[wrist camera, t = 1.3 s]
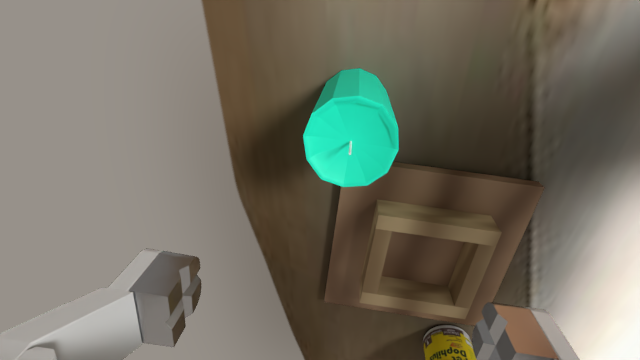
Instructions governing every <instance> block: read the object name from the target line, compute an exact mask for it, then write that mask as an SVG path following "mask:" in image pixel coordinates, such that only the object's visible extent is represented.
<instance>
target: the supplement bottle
mask: <svg viewBox="0 0 640 360" xmlns="http://www.w3.org/2000/svg"><path fill="white" fill-rule="evenodd" d="M423 348H424V353H425V359H426V360H477V359H476V357H475V354H474V351H473V346H472V343H471V340H470V338H469V336H468V334H467V333H466V332H465V331H464V330H462V329H461V328H459V327H456V326H453V325H440V326H436V327H434V328H432V329H430V330H429V331H428V332H427V333H426V334H425V336H424V338H423Z"/></svg>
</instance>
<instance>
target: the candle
mask: <svg viewBox="0 0 640 360" xmlns="http://www.w3.org/2000/svg"><path fill="white" fill-rule="evenodd" d="M303 139H304V146H305V153H306V160H307V161H308V162H309V164H310V165H311V166H312V168H313V169H314V170H315V172H316V173H317V175H318V176H319V177H320V179H322V180H325V181H327V182H330V183H333V184H336V185H339V186H341V187H354V186H367V185H369V184H371V183H372V182H374V181H375V180H377V179H378V178H380V177H381V176H383V175H385V174H386V173H388V171H389V169H390V167H391V165H392V162H393V160H394V158H395V156H396V154H397V152H398V150H399V138H398V125H397V122H396V119H395V116H394V113H393V110H392V106H391V103H390V100H389V97H388V94H387V91H386V89H385V88H384V86H383V85H382V84H381V82H380V81H379V79H378V78H377V76H376V75H374V74H371V73H369V72H367V71H365V70H362V69H360V68H357V69H349V70H341V71H340V72H339V73H337V74H336V75H335V76H333V77H332V78H331V79H330V80H328V81H327V82H326V84H325V87H324V89H323V91H322V93H321V95H320V97H319V99H318V101H317V104H316V106H315V108H314V110H313V112H312V114H311V117H310V119H309V122H308V124H307V127H306V129H305V132H304V134H303Z"/></svg>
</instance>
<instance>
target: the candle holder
mask: <svg viewBox="0 0 640 360" xmlns="http://www.w3.org/2000/svg"><path fill="white" fill-rule="evenodd" d="M544 188H545V187H544V186H543V185H542V184H540V183H539V182H537V181H530V180H523V179H516V178H508V177H501V176H494V175H486V174H479V173H472V172H465V171H457V170H450V169H443V168H436V167H428V166H421V165H414V164H406V163H399V162H392V165H391V167H390V169H389V171H388V173H386V174H385V175H383V176H381V177H380V178H378V179H377V180H375V181H374V182H372V183H371V184H369V185H367V186H354V187H341V190H340V196H339V203H338V210H337V216H336V223H335V230H334V236H333V243H332V250H331V256H330V263H329V270H328V276H327V283H326V290H325V297H324V302H327V303H333V304H340V305H346V306H352V307H359V308H365V309H371V310H378V311H384V312H390V313H397V314H403V315H409V316H416V317H422V318H428V319H435V320H441V321H447V322H454V323H460V324H466V325H473V326H475V325H476V323H477V322H479V321H481V320H482V319H484V317H483V315H482V312H481V311H482V309H483V307H484V305H485V304H486V303H488V302H493V300H494V298H495V295H496V293H497V291H498V289H499V287H500V284H501V282H502V280H503V278H504V276H505V274H506V271H507V269H508V267H509V265H510V263H511V260H512V258H513V256H514V254H515V252H516V250H517V247H518V245H519V243H520V241H521V239H522V236H523V234H524V232H525V230H526V228H527V225H528V223H529V221H530V219H531V217H532V215H533V212H534V210H535V208H536V206H537V204H538V201H539V199H540V197H541V195H542V193H543V191H544Z"/></svg>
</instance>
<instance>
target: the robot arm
mask: <svg viewBox="0 0 640 360" xmlns="http://www.w3.org/2000/svg"><path fill="white" fill-rule="evenodd" d="M199 269H200V261H199V258H197V257H195V256H189V255H184V254H177V253H172V252H167V251H159V250H154V249H148V248H146V249H144V250H142V251H141V252H140V253H139V254H138V255H137V256H136V257H135V258H134V259H133V261H132V262H131V263H130V264H129V265H128V266H127V267H126V268H125V269H124V270H123V271H122V273H121V274H120V275H119V276H118V277H117V278H116V279H115V280H114V281H113V282H112V283H111V285H110V286H109V287H108V288H103V287H101V288H99V289H97V290H95V291H92V292H90V293H88V294H86V295H84V296H81V297H79V298H77V299H75V300H73V301H70V302H68V303H66V304H64V305H62V306H59V307H57V308H55V309H53V310H51V311H49V312H46V313H44V314H42V315H40V316H38V317H35V318H33V319H31V320H29V321H26V322H24V323H22V324H20V325H18V326H15V327H13V328H11V329H9V330H7V331H4V332H2V333H0V360H123V359H124V358H125V357H127V356H128V355H129V354H131V353H132V352H133V351H135V350H136V349H137V348H139V347H140V346H141V345H142V343H148V344H155V345H163V346H170V347H174V346H175V344H176V343H177V341H178V339H179V337H180V335H181V334H182V332H183V330H184V328H185V318H186V317H187V316H189V315H191V314H192V313H193V312H194V310H195V308H196V306H197V303H198V300H199V297H200V293H201V279H200V278H199V277H198V276H197V272H198V271H199ZM481 312H482V315H483V317H484V319H482V320H481V321H479V322H477V323H476V325H475V327H474V330H473V335H472V345H473V351H474V354H475V357H476V359H477V360H580V359H579V358H578V356H577V355H576V353H575V351H574V350H573V348H572V347H571V345H570V344H569V342H568V341H567V339H566V337H565V336H564V334H563V333H562V331H561V330H560V328H559V327H558V325H557V324H556V322H555V320H554V319H553V317H552V316H551V314H550V313H549V312H547V311H546V310H543V309H536V308H529V307H520V306H513V305H506V304H500V303H493V302H488V303H486V304H485V305H484V307H483V309H482V311H481Z"/></svg>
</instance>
